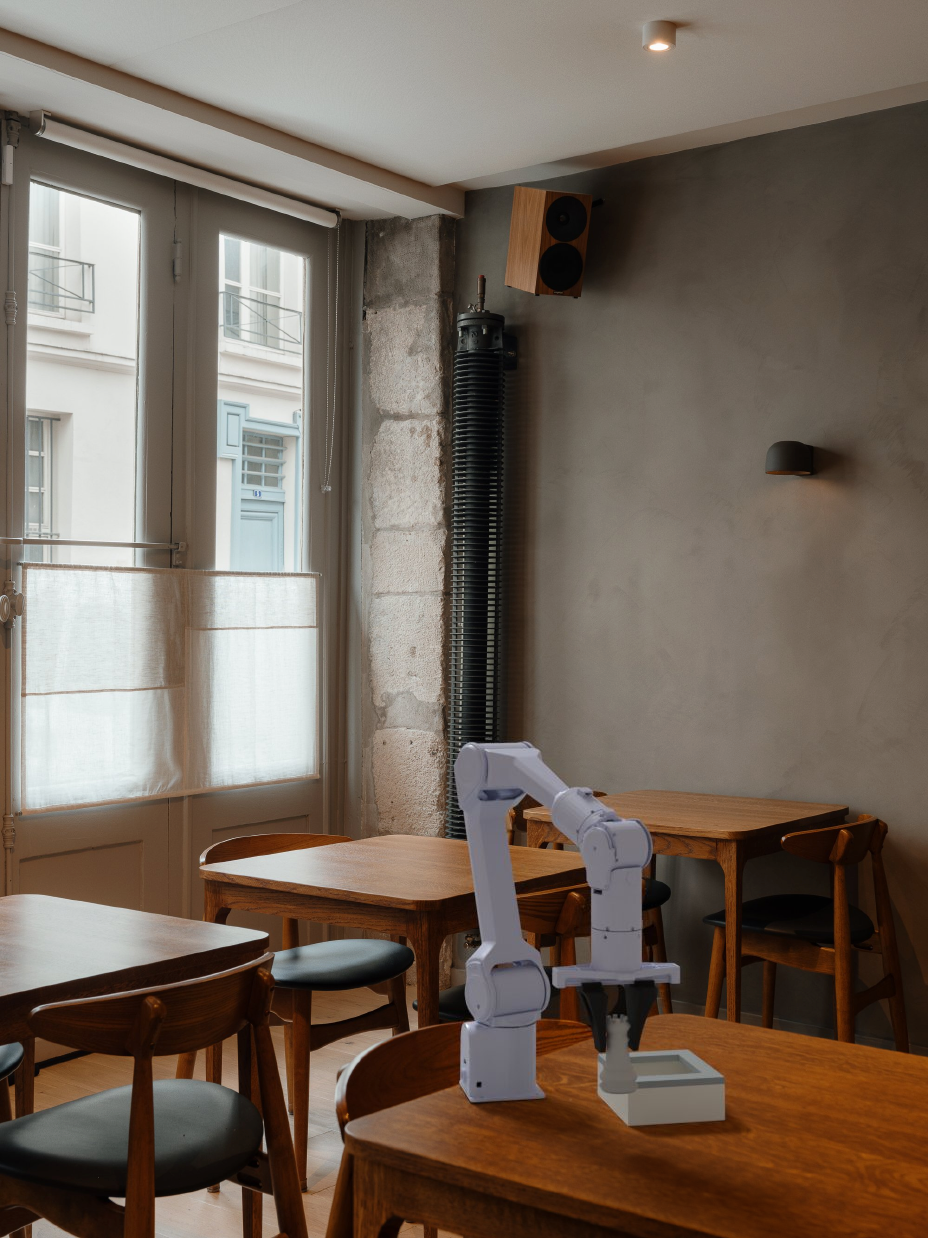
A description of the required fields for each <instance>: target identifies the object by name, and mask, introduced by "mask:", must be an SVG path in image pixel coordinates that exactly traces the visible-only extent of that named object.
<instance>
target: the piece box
mask: <svg viewBox="0 0 928 1238" xmlns="http://www.w3.org/2000/svg"><path fill="white" fill-rule="evenodd" d="M629 1056H630V1061H631V1065H632V1066H633V1067H634V1068H633V1070H634V1071H635V1072H636V1074H637V1077H638V1078H637V1080H636V1081H635V1082H636V1083H637V1084H638V1085H639V1086H638V1088H637V1089H636V1091H635V1092H632V1093H629V1094H610V1093H606V1092H604V1091H602V1089H601V1088H600V1086H599V1084H600V1083H601V1082H602V1080H601V1079H600V1077H599V1076H600V1073H601V1072H602V1070H603V1066H604V1065H605V1060H606V1053H597V1095H598V1097H599V1098H601V1100H603V1101H604V1103H606V1105H608V1108H610V1109H611V1110H612V1111H613V1112H614V1113H615V1115H617V1117H619V1118H620V1119H621V1120H622V1121H623V1122H624V1124H625V1125H627V1127H633V1126H635V1127H636V1126H648V1125H649V1126H651V1125H653V1126H654V1125H666V1124H679V1123H680V1124H681V1123H697V1122H699V1123H700V1122H701V1123H702V1122H713V1121H714V1122H716V1121H717V1122H718V1121H725V1120H726V1101H725V1100H726V1098H725V1097H726V1096H725V1095H726V1094H725V1093H726V1092H725V1091H726V1088H725V1087H726V1081H725V1080H726V1079H725V1078H726V1077H725V1076H724V1075H723V1074H721V1073H720V1072H719V1071H717V1070H716V1069H714V1067H712V1066H711V1065H709V1064H708V1063H707V1062H705V1061H704V1059H703V1060H702V1059H701V1058H700V1057H698V1055H696V1054H694V1053H693V1052H692V1051H691V1050H689V1049H688V1048H687V1049H671V1050H670V1049H669V1050H667V1049H666V1050H650V1051H631V1052H630V1051H629Z"/></svg>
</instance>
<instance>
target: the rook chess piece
mask: <svg viewBox="0 0 928 1238" xmlns="http://www.w3.org/2000/svg"><path fill="white" fill-rule="evenodd" d="M619 1016H620V1017H619V1018H618V1014H613V1013H612V1016H611V1014H608V1015H607V1014H606V1052H605V1054H606V1060H605V1065H604V1066H603V1070H602V1072H601V1073H600V1076H599V1077H600V1079H601V1080H602V1082H601V1083H600V1084H599V1086H600V1088H601V1089H602V1091H604V1092H606V1093H610V1094H629V1093H632V1092H635V1091H636V1089H637V1088H638V1086H639V1085H638V1084H637V1083H636V1082H635V1081H636V1080H637V1078H638V1077H637V1074H636V1072H635V1071H634V1070H633V1068H634V1067H633V1066H632V1065H631V1061H630V1056H629V1052H630V1051H629V1050H630V1049H629V1047H628V1041H629V1040H630V1039H629V1038H628V1035H627V1032H628V1030H629V1029H630V1027H631V1024H630V1023H629V1022H628V1017H627V1015H626V1014H620V1015H619Z"/></svg>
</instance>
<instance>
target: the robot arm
mask: <svg viewBox="0 0 928 1238" xmlns="http://www.w3.org/2000/svg"><path fill="white" fill-rule="evenodd" d="M453 773H454V779H455V786H456V793H457V800H458V807H459V809H460V810H462V811H463V818H464V825H465V832H466V833H465V834H466V839H467V847H468V853H469V855H468V856H469V861H470V868H471V875H472V882H473V883H472V884H473V889H474V896H475V904H476V911H477V919H478V927H479V933H480V939H481V945H480V946H479V947H478V948H477V950H476V951H474V952H473V954H472V955H471V956H470V957H469V958H468V960H466V962H465V970H466V976H465V977H466V981H465V987H464V997H465V1003H466V1006H467V1009H468V1011H469V1013H470V1014H471V1016H472V1017H473V1019H474V1021H466V1022H463V1023H462V1025H461V1031H460V1072H459V1074H460V1075H459V1076H460V1078H459V1079H460V1080H459V1085H460V1087H461V1089H462V1090H463V1092H464V1093H465V1095H466V1096H467V1098H468V1100H469V1101H470V1102H471V1103H486V1102H503V1101H518V1100H536V1099H537V1100H538V1099H540V1100H541V1099H545V1098H546V1094H545V1092H544V1091H543V1090H542V1089H541V1087H540V1086H539V1085H538V1084H537V1075H536V1073H537V1069H536V1067H537V1060H536V1059H537V1053H536V1052H537V1046H536V1045H537V1021H541V1020H542V1012H544V1010H546V1008H547V1007H548V1005H549V1002H550V998H551V984H550V980H549V977H548V975H547V974H546V971H545V969H544V965H543V962H542V957H541V953H540V951H538V950H537V949H536V948H535V947H534V946H532V945H531V944H529V943H528V942H527V941H526V940H524V938H523V934H522V927H521V921H520V920H521V918H520V913H519V907H518V900H517V893H516V886H515V879H514V874H513V866H512V859H511V854H510V844H509V841H508V840H509V839H508V833H507V827H506V817H507V815H508V813H509V811H510V809H513V808H514V807H516V806H518V805H519V803H520V802H521V801H522V800H523V799H524V798H525V796H526V795H528V796H530V797H531V798H532V799H534V800H535V801H536V802H538V803H539V804H541V805H542V806H544V807H545V808H546V809H548V810H550V819H551V823H552V824H553V826H554V827H555V828H556V829H557V830H558V831H559V832H561V833H562V834H563V835H564V836H566V838H568V839H569V840H570V841H571V842H572V843H573V844H574V845H576V846H577V847H578V848H579V852H580V856H581V860H582V863H583V865H584V867H585V870H586V871H585V872H586V882H587V884H588V886H589V887H590V889H591V890H590V892H591V893H590V897H591V899H590V902H591V903H590V907H591V909H590V915H591V916H590V917H591V919H590V922H591V923H590V930H591V931H590V944H591V945H590V946H591V947H590V948H591V949H590V963H583V964H576V965H575V964H574V965H568V966H553V967H552V972H551V975H552V977H551V978H552V985H553V986H554V987H555V988H557V989H565V988H566V987H575V989H576V992H577V994H578V996H579V999H580V1000H581V1003H582V1005H583V1007H584V1010H585V1013H586V1015H587V1018H588V1022H589V1026H590V1029H591V1032H592V1033H591V1034H592V1037H593V1043H594V1049H595V1050H596V1051H598V1053H599V1054H606V1051H607V1042H606V1035H607V1033H606V1016H607V1011H608V1003H609V994H608V993H606V992H605V988H604V987H603V986H605V985H607V986H609V985H623V986H624V987H623V988H624V993H625V1004H626V1005H625V1006H626V1016H627V1017H628V1022H629V1023H630V1024H631V1027H630V1029H629V1030H628V1032H627V1035H628V1038H629V1039H630V1040H629V1041H628V1049H629V1050H631V1052H639V1050H640V1048H639V1047H640V1044H641V1038H642V1035H643V1032H644V1031H643V1030H644V1027H645V1024H646V1023H647V1021H646V1020H647V1019H648V1017H649V1014H650V1011H651V1009H652V1007H653V1006H654V1005H655V1003H656V1000H657V998H658V996H659V995H658V994H659V987H657V986H656V984H657V983H659V984H662V983H669V984H674V985H676V984H680V983H681V966H680V965H678V964H676V963H674V962H643V959H642V958H643V957H642V954H643V953H642V952H643V951H642V950H643V948H642V945H643V943H642V939H643V936H642V935H643V932H642V931H643V930H642V929H643V921H642V916H643V913H642V911H643V910H642V909H643V906H642V903H643V901H642V896H643V895H642V889H643V887H642V886H643V883H642V882H643V880H642V878H643V877H642V872H643V869H644V868H646V867H647V866H648V865H649V864H650V861H651V859H652V855H653V851H654V850H653V849H654V848H653V846H654V845H653V839H652V836H651V833H650V830H649V829H648V828H647V826H646V825H645V824H644V823H643V822H642V820H640V819H638V818H627V819H625V817H624V818H623V817H620V816H619V815H617V812H616V811H615V810H614V809H613V808H611V807H607V806H606V805H605V804H604V803H603V802H601V801H600V800H599V799H598V798H596V797H595V796H594V790H592V789H591V788H589V787H588V786H587V787H579V786H576V787H575V786H574V787H571V788H569V786H568V785H567V784H565V783H564V782H563V780H562V779H561V778H559V777H558V776H557V774H556V773H554V772H553V770H552V769H551V768H550V767H548V766H547V765H546V763H544V762H543V755H542V752H541V750H539V749H538V748H535V746H534V745H533V744H532V743H530V742H529V741H520V742H519V741H518V742H503V743H501V742H500V743H499V742H494V743H493V742H492V743H491V742H489V743H486V742H485V743H477V742H472V741H471V742H468V743H466V744H464V745H463V746H462V747H461V749H460V751H459V753H458V755H457V757H456V759H455V762H454V764H453ZM502 964H513V965H512V966H504V967H497V968H496V967H495V968H493V967H494V966H495V965H502Z"/></svg>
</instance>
